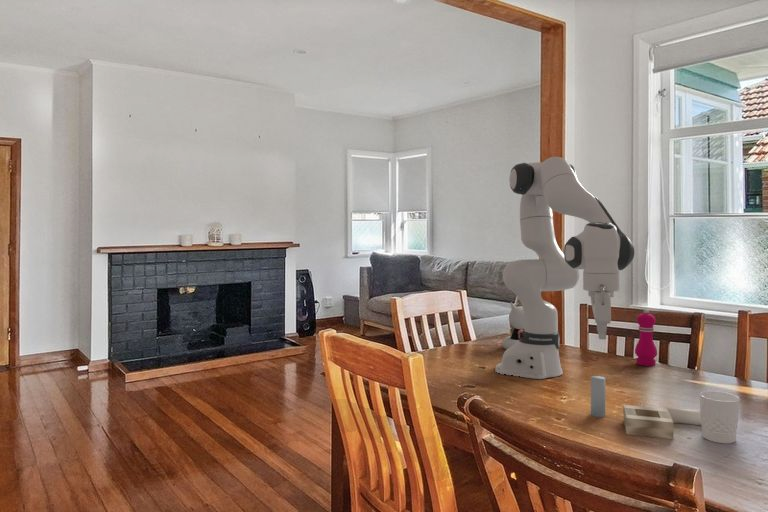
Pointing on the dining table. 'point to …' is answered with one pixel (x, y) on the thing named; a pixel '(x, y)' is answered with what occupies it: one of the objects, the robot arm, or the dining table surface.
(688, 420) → the lying peg
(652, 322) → the pepper mill
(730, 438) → the white cup
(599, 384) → the peg
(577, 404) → the dining table surface
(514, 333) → the decorative figurine
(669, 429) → the socket
